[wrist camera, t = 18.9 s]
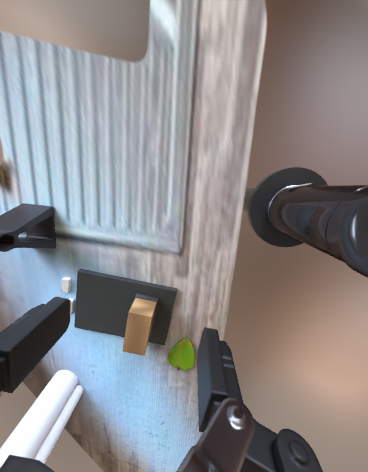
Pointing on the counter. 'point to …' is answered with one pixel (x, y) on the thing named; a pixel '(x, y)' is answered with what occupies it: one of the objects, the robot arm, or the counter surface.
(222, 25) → the counter surface
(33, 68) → the counter surface
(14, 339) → the robot arm
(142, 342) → the eraser
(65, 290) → the small white block
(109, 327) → the memo board
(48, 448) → the vase
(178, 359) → the decorative leaf
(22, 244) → the phone stand
